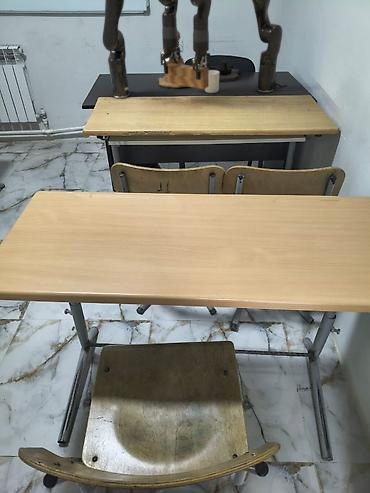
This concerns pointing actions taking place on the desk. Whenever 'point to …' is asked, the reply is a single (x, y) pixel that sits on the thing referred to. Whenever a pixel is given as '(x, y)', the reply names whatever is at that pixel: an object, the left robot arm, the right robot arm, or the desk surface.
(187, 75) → the bar
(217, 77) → the mug
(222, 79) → the abstract sculpture
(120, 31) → the left robot arm
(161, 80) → the sculpture
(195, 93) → the desk surface
